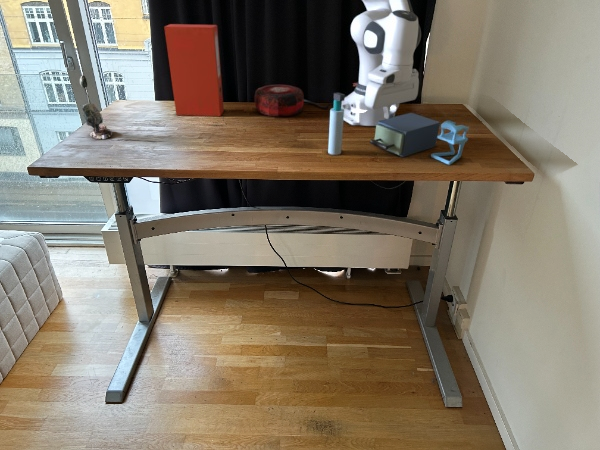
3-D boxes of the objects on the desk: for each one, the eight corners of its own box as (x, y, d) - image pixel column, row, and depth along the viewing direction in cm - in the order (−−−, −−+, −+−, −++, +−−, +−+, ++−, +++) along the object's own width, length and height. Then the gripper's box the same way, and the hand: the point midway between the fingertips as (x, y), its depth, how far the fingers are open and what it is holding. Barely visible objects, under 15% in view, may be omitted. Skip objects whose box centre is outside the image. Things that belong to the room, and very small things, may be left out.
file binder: (181, 109, 177) (170, 23, 160) (223, 110, 177) (217, 24, 160) (176, 115, 170) (164, 26, 153) (220, 116, 170) (212, 27, 153)
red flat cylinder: (313, 111, 177) (281, 100, 189) (314, 90, 173) (280, 80, 185) (277, 121, 165) (244, 109, 177) (277, 99, 161) (243, 88, 173)
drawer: (389, 158, 135) (392, 137, 132) (364, 146, 143) (366, 127, 139) (430, 144, 145) (434, 125, 142) (405, 135, 153) (407, 116, 149)
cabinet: (402, 157, 138) (406, 132, 133) (374, 145, 146) (377, 121, 142) (435, 146, 146) (440, 122, 142) (407, 135, 155) (411, 112, 150)
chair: (466, 159, 137) (475, 122, 131) (449, 165, 133) (457, 127, 127) (447, 151, 143) (455, 115, 136) (430, 156, 139) (437, 120, 132)
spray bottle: (325, 151, 141) (328, 92, 131) (335, 148, 143) (339, 90, 133) (333, 155, 138) (337, 96, 128) (343, 153, 140) (348, 94, 130)
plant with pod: (81, 142, 145) (64, 81, 134) (95, 130, 154) (81, 72, 144) (105, 142, 145) (90, 81, 134) (118, 131, 154) (105, 73, 144)
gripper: (411, 66, 135) (403, 109, 143) (364, 74, 124) (358, 120, 132) (427, 70, 131) (418, 114, 139) (380, 79, 120) (373, 127, 128)
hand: (389, 117), depth 135 cm, fingers closed
